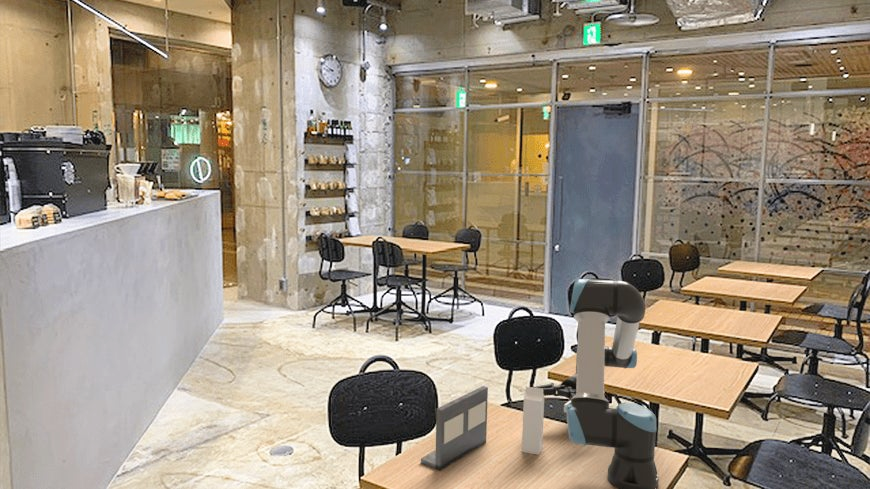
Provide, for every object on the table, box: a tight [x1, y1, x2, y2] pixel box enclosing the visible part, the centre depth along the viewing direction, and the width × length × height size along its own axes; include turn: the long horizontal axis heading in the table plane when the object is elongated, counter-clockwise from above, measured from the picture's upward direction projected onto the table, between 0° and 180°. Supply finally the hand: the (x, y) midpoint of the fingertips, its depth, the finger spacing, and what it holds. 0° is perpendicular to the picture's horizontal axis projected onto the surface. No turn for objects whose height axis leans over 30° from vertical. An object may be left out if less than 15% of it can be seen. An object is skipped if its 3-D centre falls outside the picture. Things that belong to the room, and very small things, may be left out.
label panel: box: [420, 385, 489, 471], centre depth 208 cm, size 8×26×20 cm, turn 142°
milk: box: [521, 386, 545, 456], centre depth 211 cm, size 6×6×22 cm
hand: (546, 403), depth 218 cm, fingers open, 13 cm apart
